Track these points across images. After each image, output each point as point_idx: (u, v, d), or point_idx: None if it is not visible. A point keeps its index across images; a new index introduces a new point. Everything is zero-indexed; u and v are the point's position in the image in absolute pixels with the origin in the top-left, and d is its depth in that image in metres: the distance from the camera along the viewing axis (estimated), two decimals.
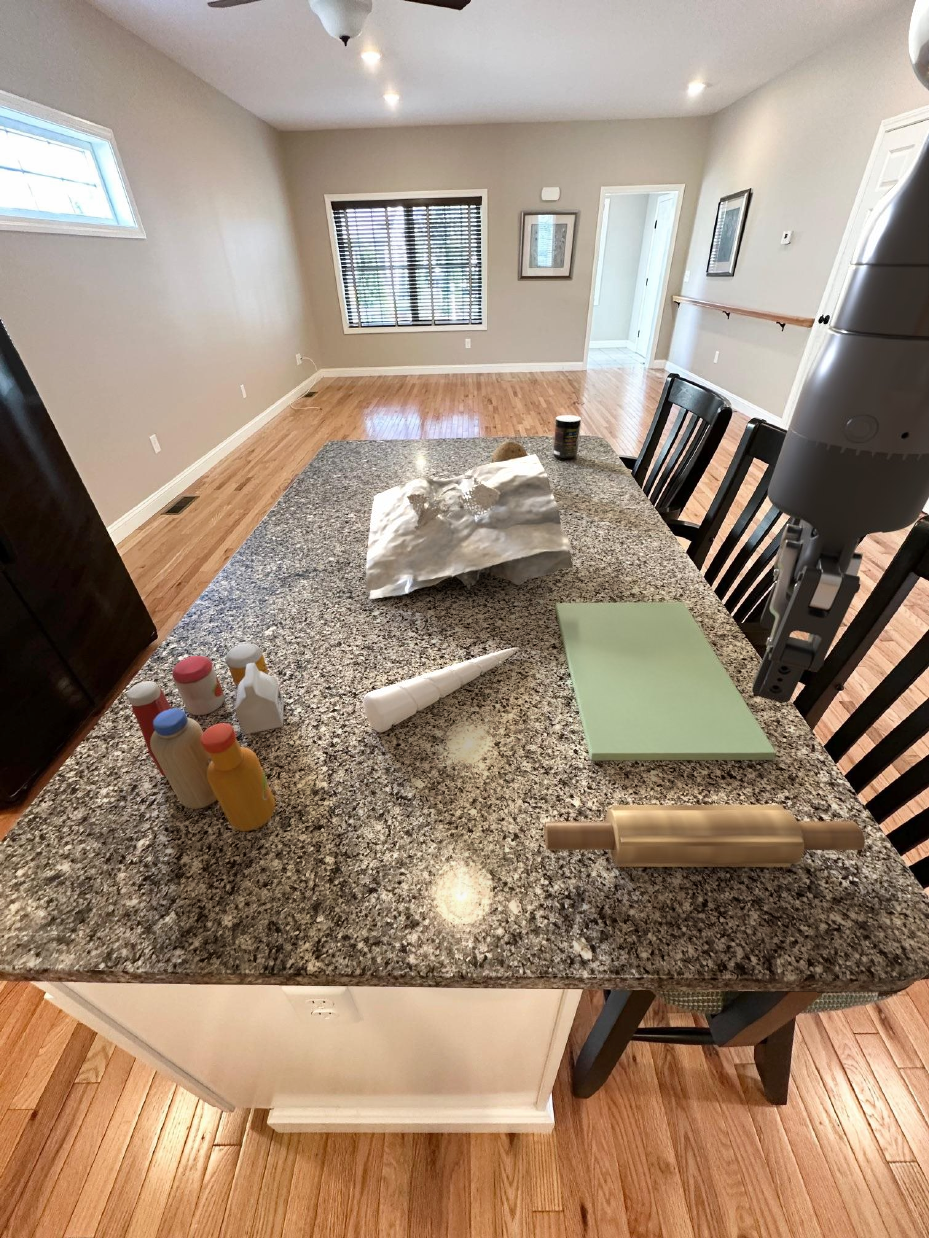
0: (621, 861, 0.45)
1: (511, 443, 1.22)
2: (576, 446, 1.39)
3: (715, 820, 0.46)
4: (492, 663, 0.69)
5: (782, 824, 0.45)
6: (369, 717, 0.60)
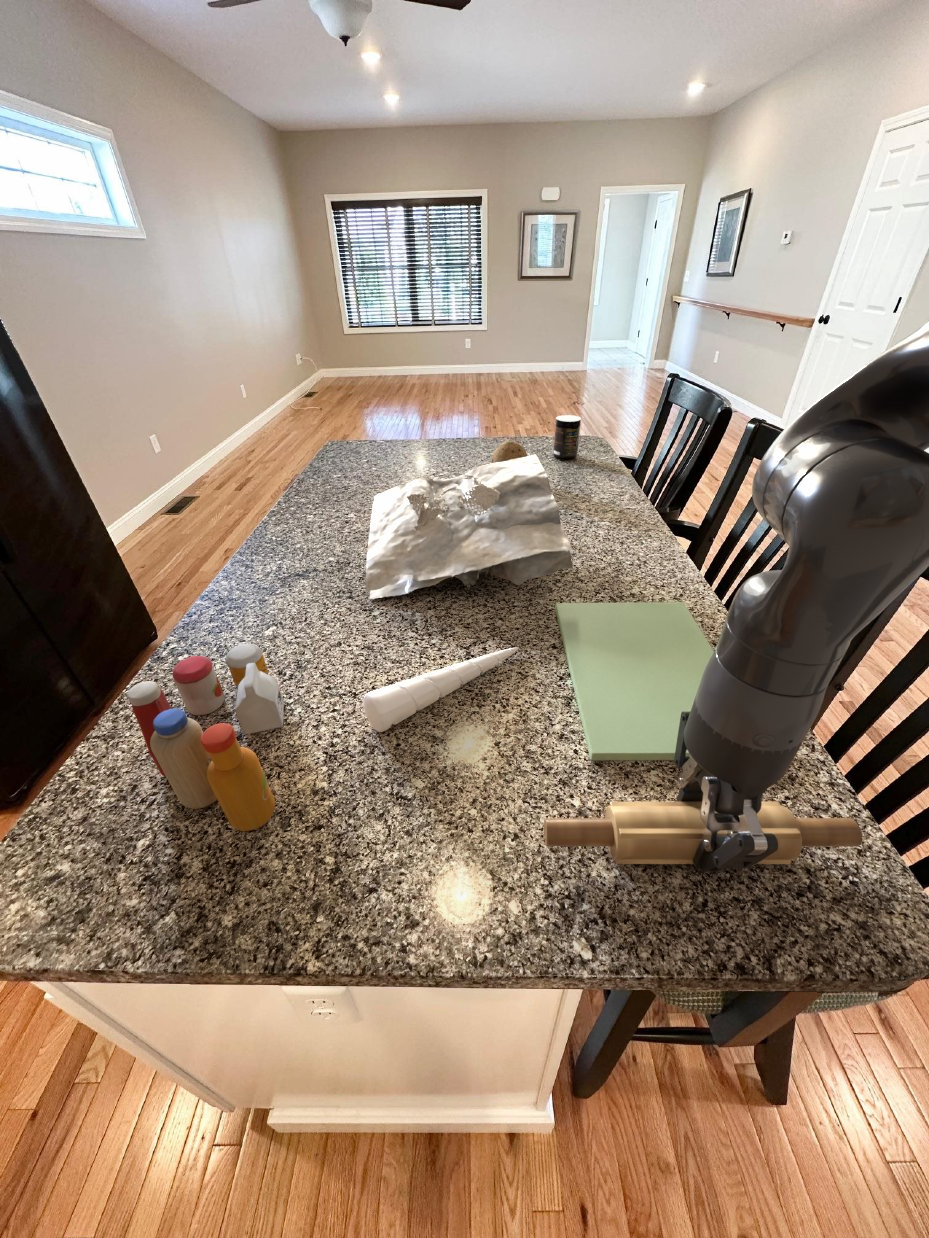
0: (621, 856, 0.45)
1: (511, 443, 1.22)
2: (576, 446, 1.39)
3: None
4: (492, 663, 0.69)
5: (779, 817, 0.46)
6: (369, 717, 0.60)
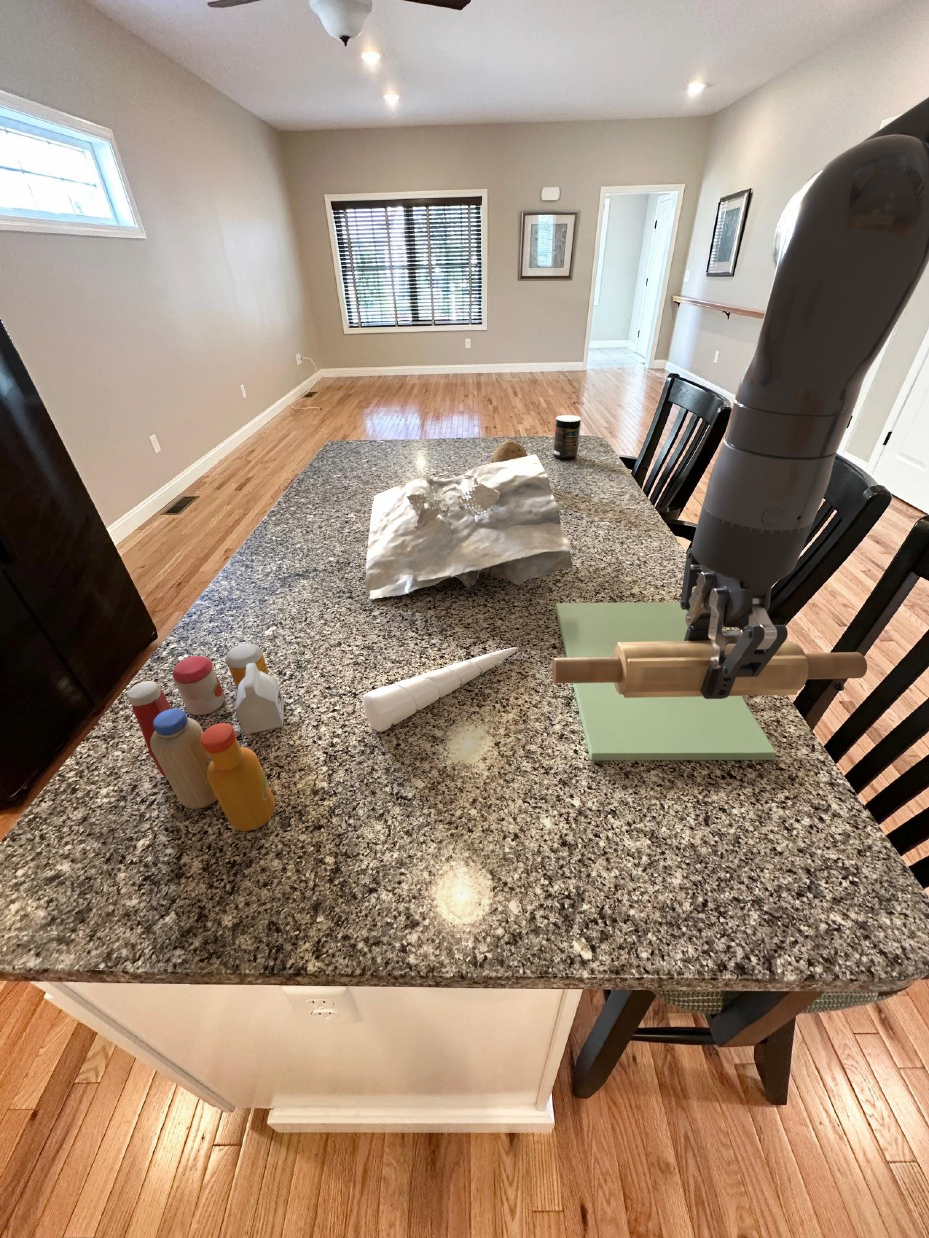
0: (629, 686, 0.46)
1: (511, 443, 1.22)
2: (576, 446, 1.39)
3: None
4: (492, 663, 0.69)
5: (785, 647, 0.46)
6: (369, 717, 0.60)
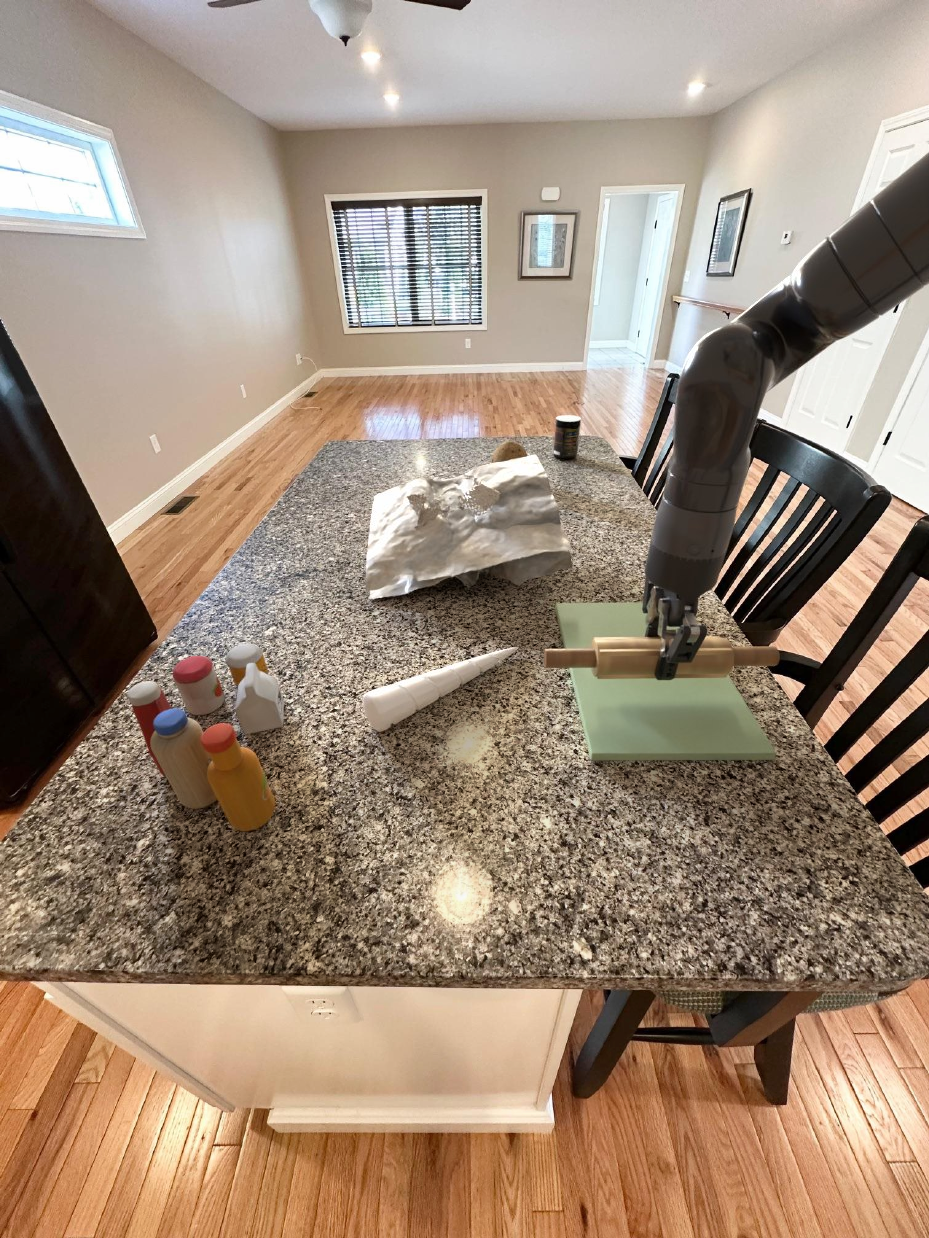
0: (601, 670, 0.61)
1: (511, 443, 1.22)
2: (576, 446, 1.39)
3: None
4: (491, 662, 0.69)
5: (718, 642, 0.62)
6: (369, 716, 0.60)
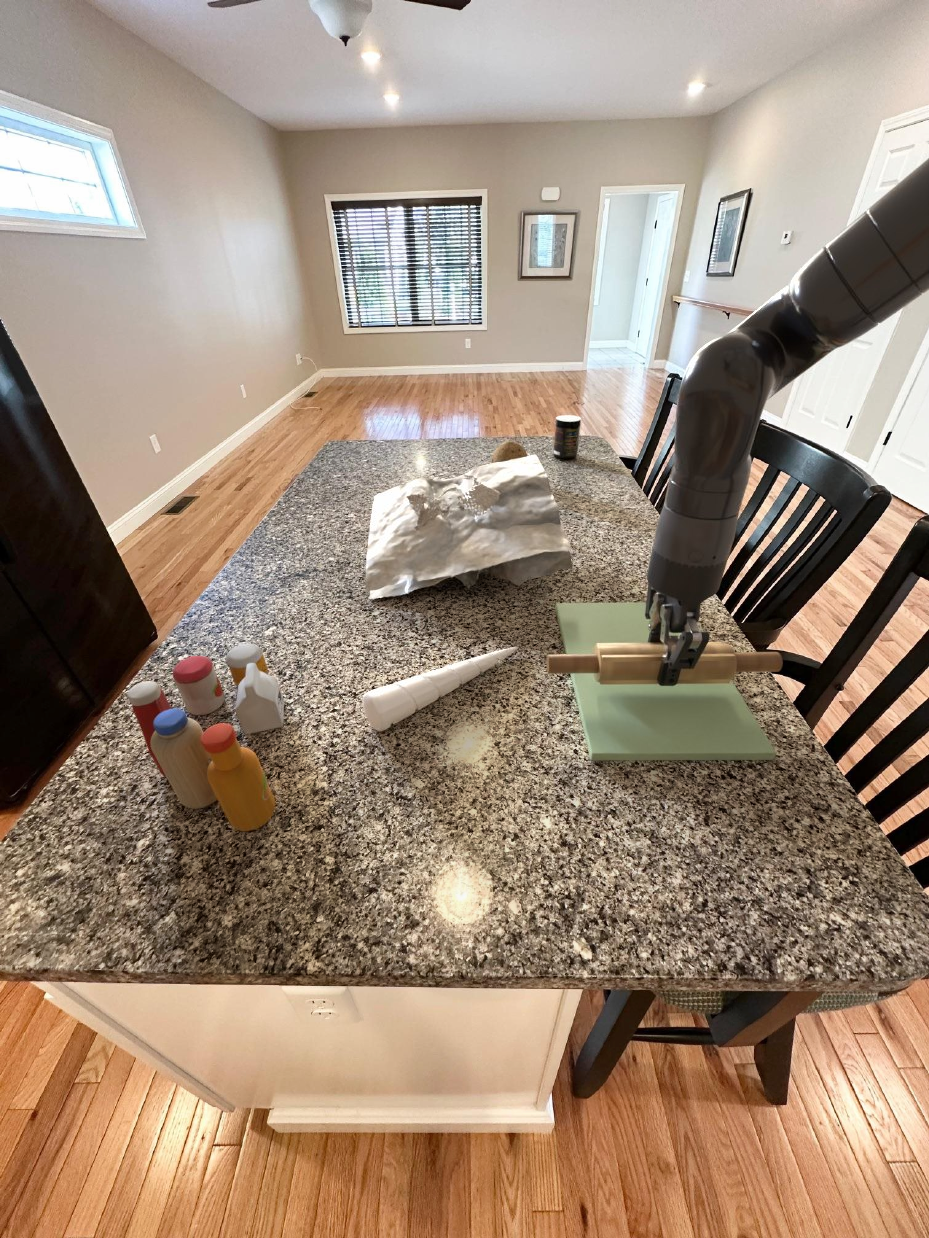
0: (603, 675, 0.62)
1: (511, 443, 1.22)
2: (576, 446, 1.39)
3: None
4: (491, 662, 0.69)
5: (720, 647, 0.62)
6: (368, 716, 0.60)
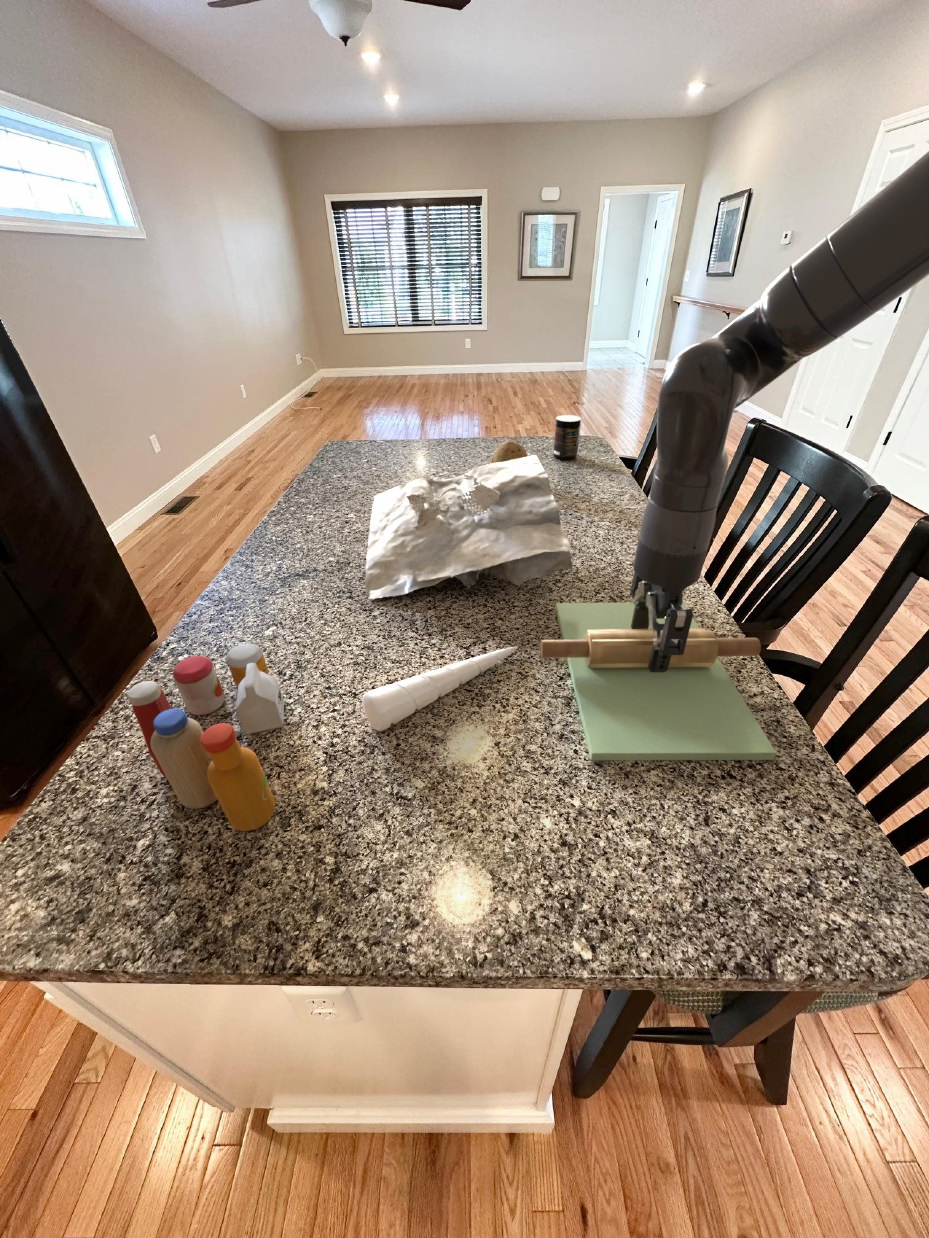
0: (593, 659, 0.66)
1: (511, 443, 1.22)
2: (576, 446, 1.39)
3: None
4: (491, 662, 0.69)
5: (703, 633, 0.66)
6: (368, 716, 0.60)
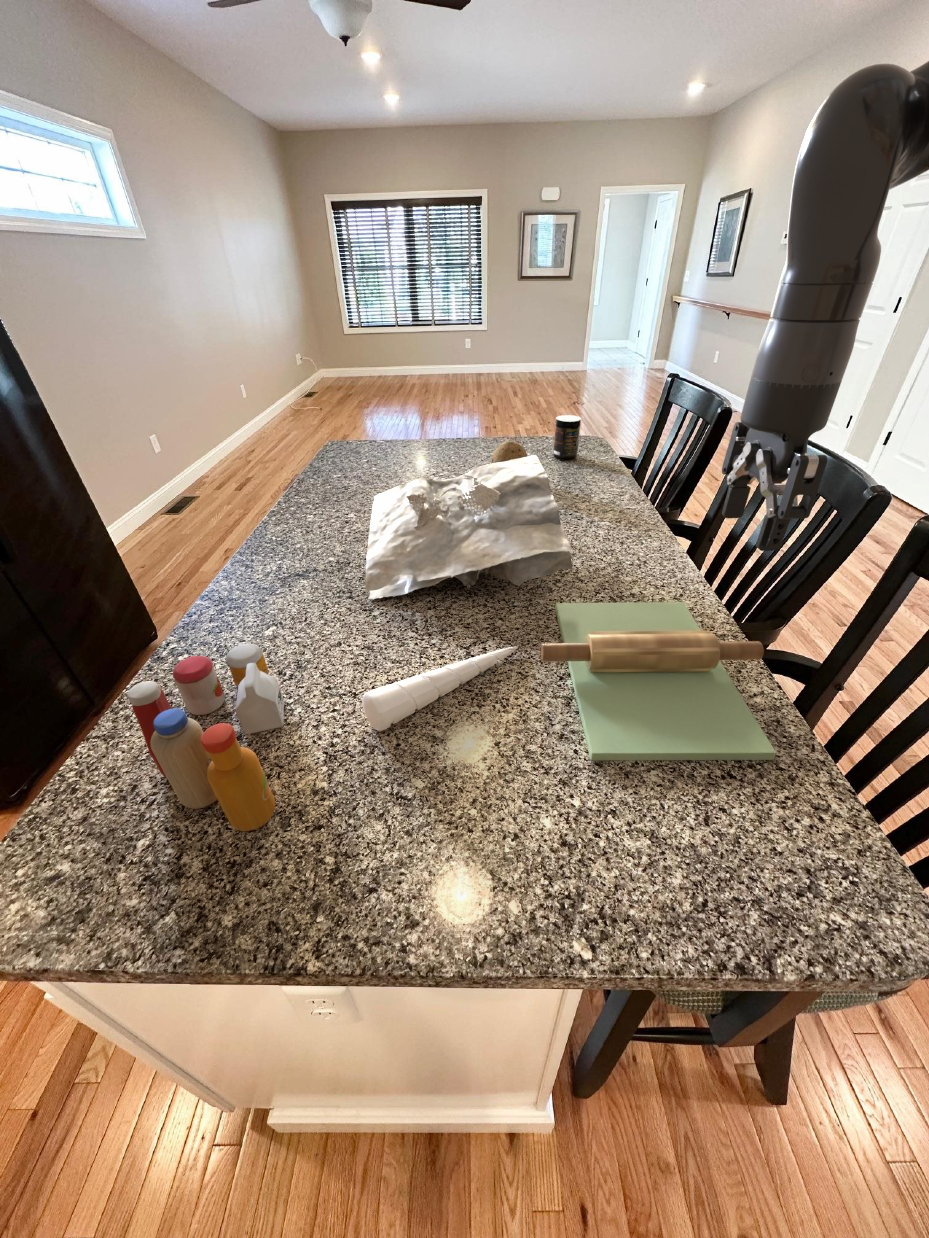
0: (594, 666, 0.65)
1: (511, 443, 1.22)
2: (576, 446, 1.39)
3: (660, 639, 0.65)
4: (491, 662, 0.69)
5: (707, 640, 0.65)
6: (368, 716, 0.60)
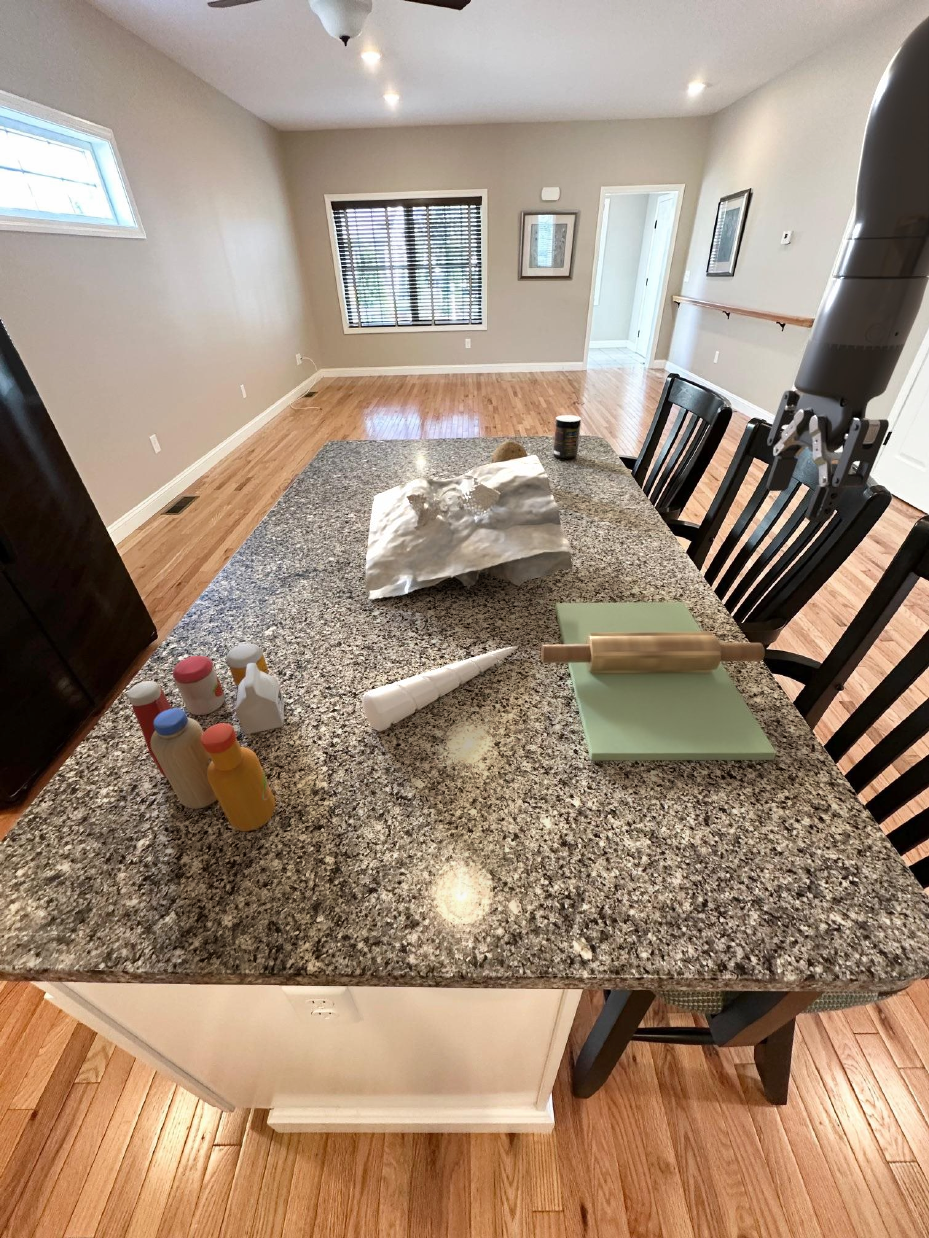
0: (594, 669, 0.65)
1: (511, 443, 1.22)
2: (576, 446, 1.39)
3: (661, 641, 0.65)
4: (491, 662, 0.69)
5: (708, 644, 0.64)
6: (368, 716, 0.60)
